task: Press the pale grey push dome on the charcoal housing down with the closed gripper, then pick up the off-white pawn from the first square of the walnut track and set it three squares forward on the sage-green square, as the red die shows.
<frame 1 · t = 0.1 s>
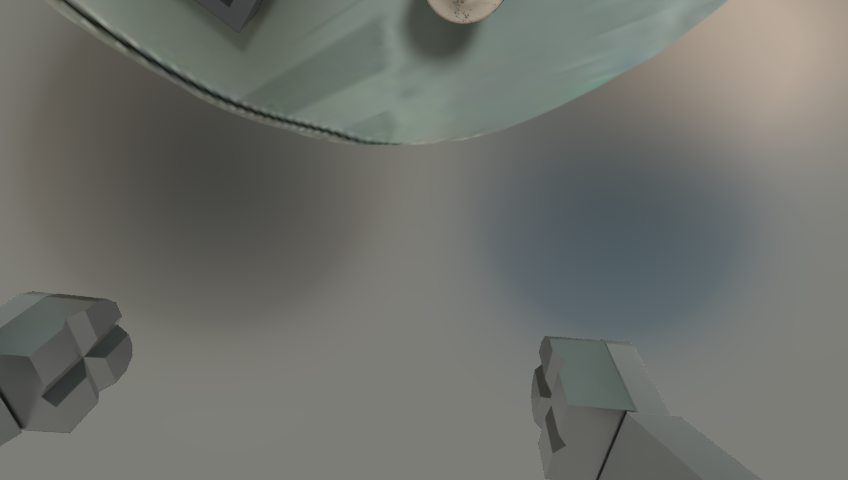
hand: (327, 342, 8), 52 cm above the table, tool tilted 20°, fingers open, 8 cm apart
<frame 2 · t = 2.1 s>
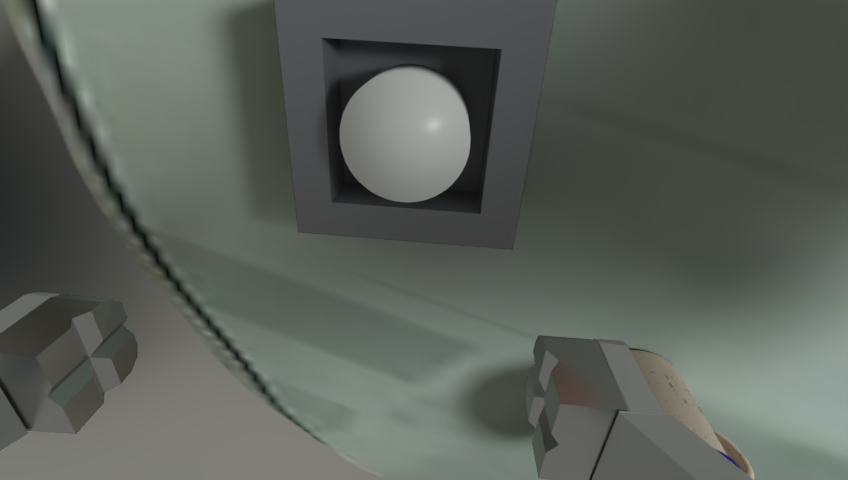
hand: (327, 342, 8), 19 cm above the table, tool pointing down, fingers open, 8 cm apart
dome housing: (416, 111, 25), on the table
teacup with lid: (637, 389, 35), on the table
push dome: (407, 133, 21), point 5 cm above the table, slide at 0.0 cm
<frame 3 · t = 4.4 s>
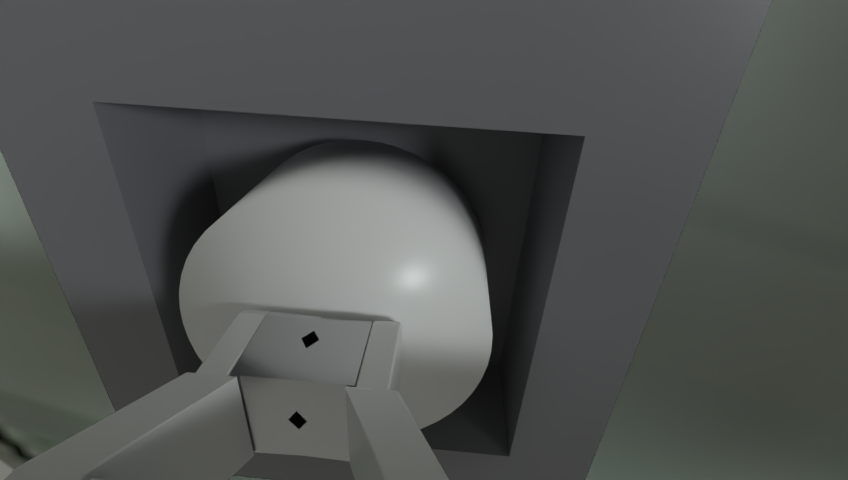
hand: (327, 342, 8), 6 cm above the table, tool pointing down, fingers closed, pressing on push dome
dome housing: (381, 212, 13), on the table
push dome: (352, 291, 10), point 4 cm above the table, slide at -0.8 cm, touching gripper
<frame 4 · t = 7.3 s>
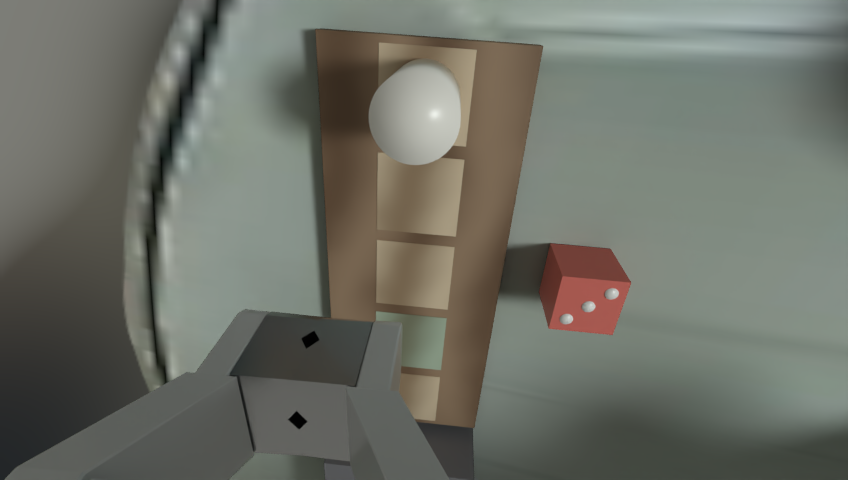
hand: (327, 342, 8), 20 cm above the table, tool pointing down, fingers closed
board: (415, 268, 30), on the table
pawn: (424, 97, 24), point 1 cm above the table, touching board
dome housing: (403, 460, 41), on the table
die: (573, 271, 30), on the table
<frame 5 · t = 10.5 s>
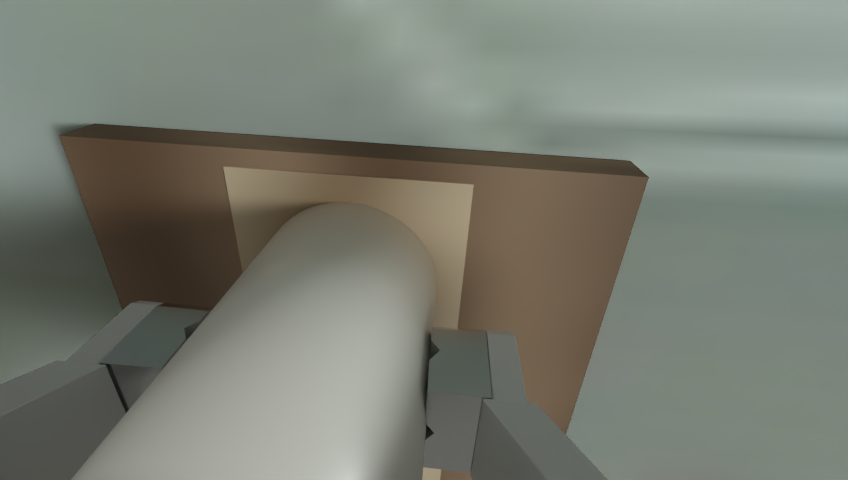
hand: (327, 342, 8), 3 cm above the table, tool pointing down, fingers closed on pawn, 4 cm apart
pawn: (351, 281, 10), point 1 cm above the table, touching board, gripper
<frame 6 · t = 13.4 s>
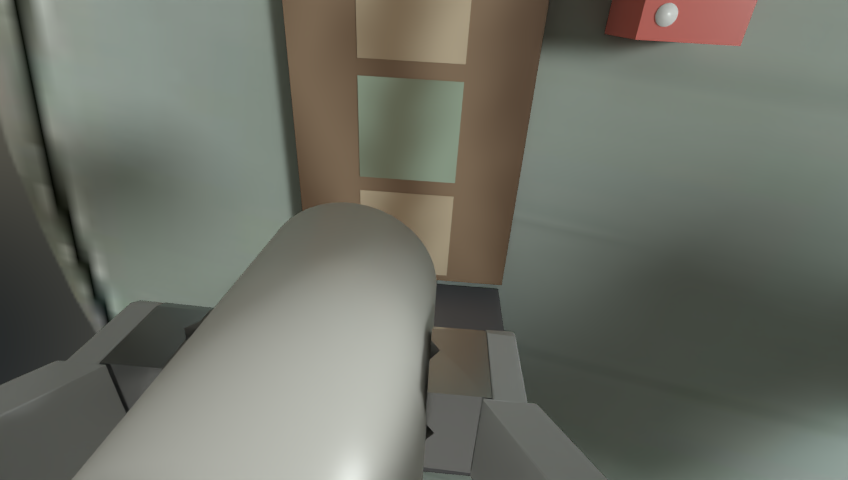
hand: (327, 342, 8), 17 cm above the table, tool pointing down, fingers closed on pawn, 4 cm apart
pawn: (351, 281, 10), point 15 cm above the table, touching gripper
dome housing: (402, 350, 31), on the table
when the fingers open (4 cm above the table, at t = 16.4 s): pawn stays where it is, resting on board.
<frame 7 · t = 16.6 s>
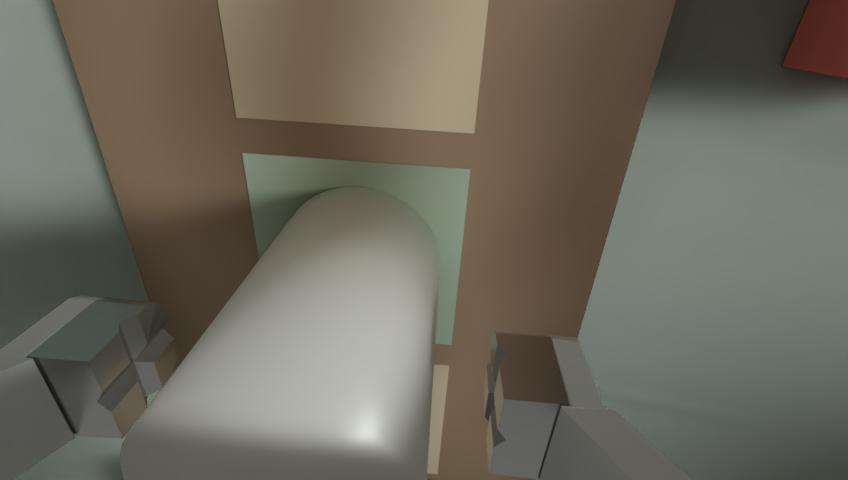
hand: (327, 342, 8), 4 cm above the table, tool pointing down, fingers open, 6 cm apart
pawn: (361, 259, 11), point 1 cm above the table, touching board
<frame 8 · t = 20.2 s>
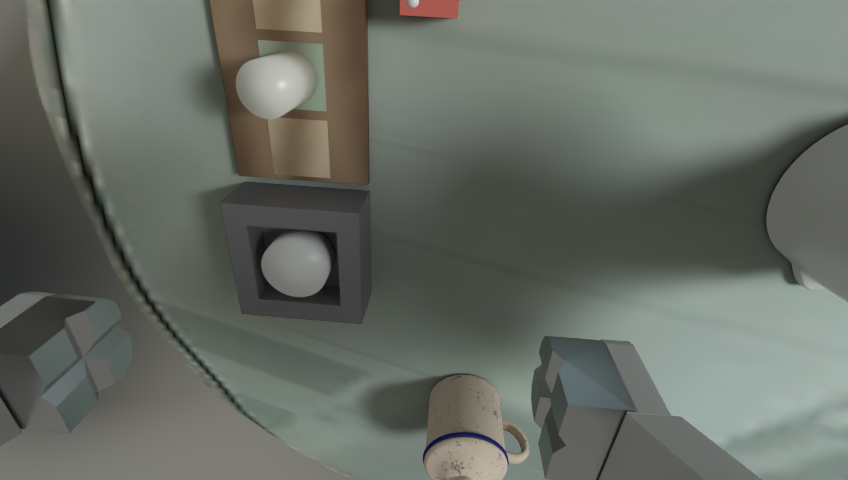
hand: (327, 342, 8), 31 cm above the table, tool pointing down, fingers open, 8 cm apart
pawn: (294, 76, 35), point 1 cm above the table, touching board
dome housing: (311, 241, 44), on the table
teacup with lid: (475, 399, 53), on the table
push dome: (299, 261, 40), point 4 cm above the table, slide at -1.0 cm
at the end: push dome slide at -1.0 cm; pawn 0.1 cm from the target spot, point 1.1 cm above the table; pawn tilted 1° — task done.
